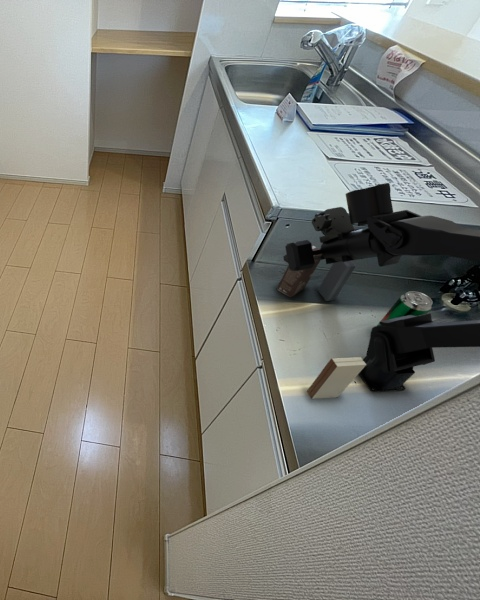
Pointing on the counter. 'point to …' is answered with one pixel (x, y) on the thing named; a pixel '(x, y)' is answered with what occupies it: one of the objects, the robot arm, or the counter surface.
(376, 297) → the counter surface
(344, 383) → the cream books
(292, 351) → the counter surface
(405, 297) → the soda can
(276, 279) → the counter surface
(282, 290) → the box
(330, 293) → the grey books
